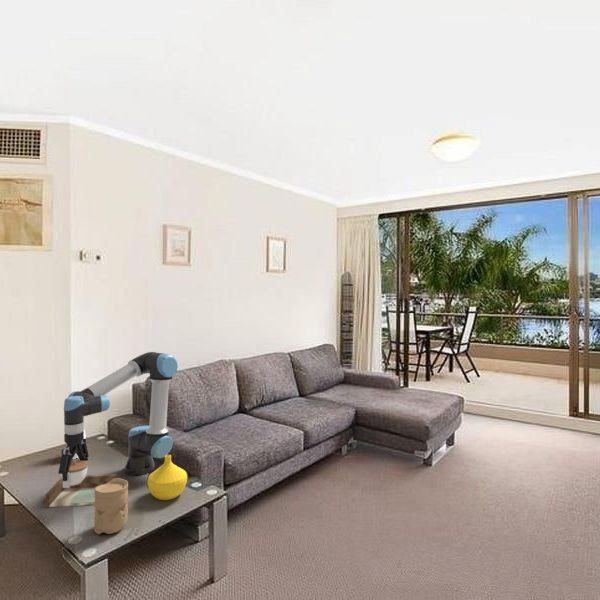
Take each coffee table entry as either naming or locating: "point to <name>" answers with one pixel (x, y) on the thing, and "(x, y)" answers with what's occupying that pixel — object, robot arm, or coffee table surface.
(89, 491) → the pad
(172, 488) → the vase
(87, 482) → the walls
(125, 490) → the container
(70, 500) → the board
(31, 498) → the coffee table surface
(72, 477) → the lidded jar
